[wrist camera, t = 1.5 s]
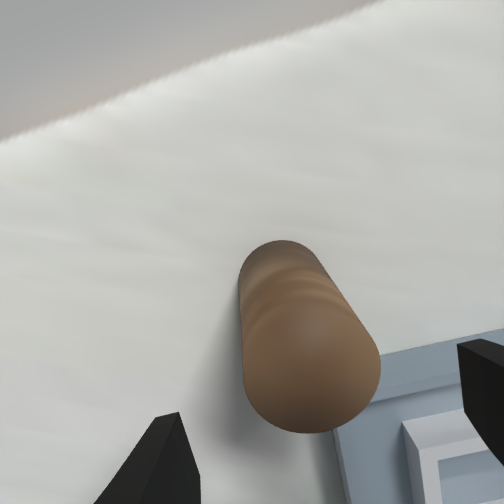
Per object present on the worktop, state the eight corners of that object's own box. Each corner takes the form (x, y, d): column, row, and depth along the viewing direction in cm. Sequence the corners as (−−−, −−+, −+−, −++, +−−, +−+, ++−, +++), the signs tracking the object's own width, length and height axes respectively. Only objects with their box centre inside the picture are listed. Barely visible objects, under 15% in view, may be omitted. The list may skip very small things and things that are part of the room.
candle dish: (595, 308, 21) (649, 334, 18) (593, 523, 25) (637, 570, 22) (320, 368, 21) (333, 403, 19) (360, 572, 25) (375, 625, 22)
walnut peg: (315, 231, 19) (370, 296, 12) (329, 310, 20) (389, 417, 13) (230, 250, 19) (229, 327, 12) (248, 328, 20) (259, 445, 13)
